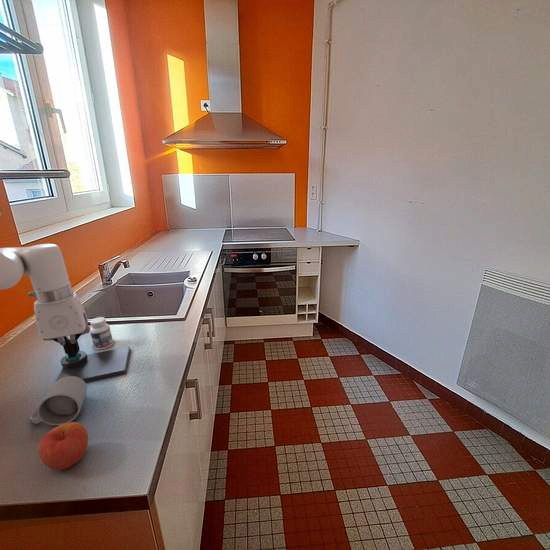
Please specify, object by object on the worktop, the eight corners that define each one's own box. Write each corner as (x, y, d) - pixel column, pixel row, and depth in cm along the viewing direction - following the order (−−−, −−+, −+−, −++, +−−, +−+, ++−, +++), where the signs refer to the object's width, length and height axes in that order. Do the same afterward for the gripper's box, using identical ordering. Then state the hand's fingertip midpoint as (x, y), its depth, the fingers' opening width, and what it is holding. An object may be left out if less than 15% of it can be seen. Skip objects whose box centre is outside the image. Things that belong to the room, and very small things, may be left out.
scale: (53, 390, 75) (49, 380, 74) (67, 362, 85) (64, 353, 84) (125, 374, 80) (123, 364, 79) (130, 350, 90) (128, 341, 89)
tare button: (66, 364, 81) (64, 359, 80) (69, 358, 84) (68, 353, 83) (79, 362, 82) (77, 356, 81) (81, 356, 85) (80, 350, 84)
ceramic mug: (91, 394, 72) (83, 368, 70) (83, 419, 65) (74, 391, 63) (40, 407, 69) (29, 380, 67) (25, 435, 62) (13, 405, 59)
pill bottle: (91, 346, 93) (84, 321, 90) (107, 339, 97) (101, 314, 94) (99, 352, 90) (92, 325, 87) (116, 344, 94) (110, 318, 91)
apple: (75, 439, 61) (65, 407, 58) (101, 451, 58) (91, 418, 55) (36, 471, 54) (23, 438, 52) (63, 486, 52) (50, 451, 49)
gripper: (12, 304, 71) (36, 369, 77) (84, 293, 75) (101, 356, 81) (25, 292, 77) (46, 353, 83) (91, 283, 82) (106, 341, 88)
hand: (73, 354), depth 82 cm, fingers closed
